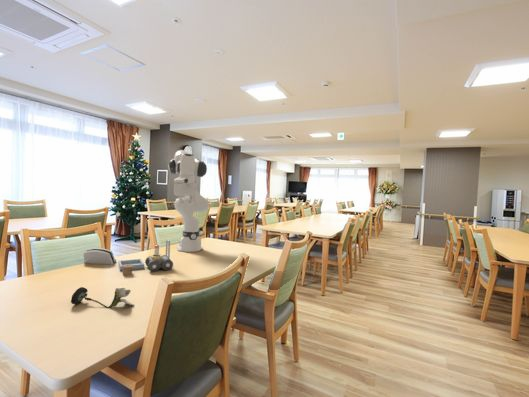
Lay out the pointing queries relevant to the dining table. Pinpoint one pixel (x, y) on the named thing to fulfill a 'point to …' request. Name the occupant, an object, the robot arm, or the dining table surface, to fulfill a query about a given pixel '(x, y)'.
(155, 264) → the trolley
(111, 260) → the grey curved block
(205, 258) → the dining table surface
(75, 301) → the artificial flower
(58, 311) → the dining table surface
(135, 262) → the tray
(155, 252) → the pin
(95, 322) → the dining table surface
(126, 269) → the chock
